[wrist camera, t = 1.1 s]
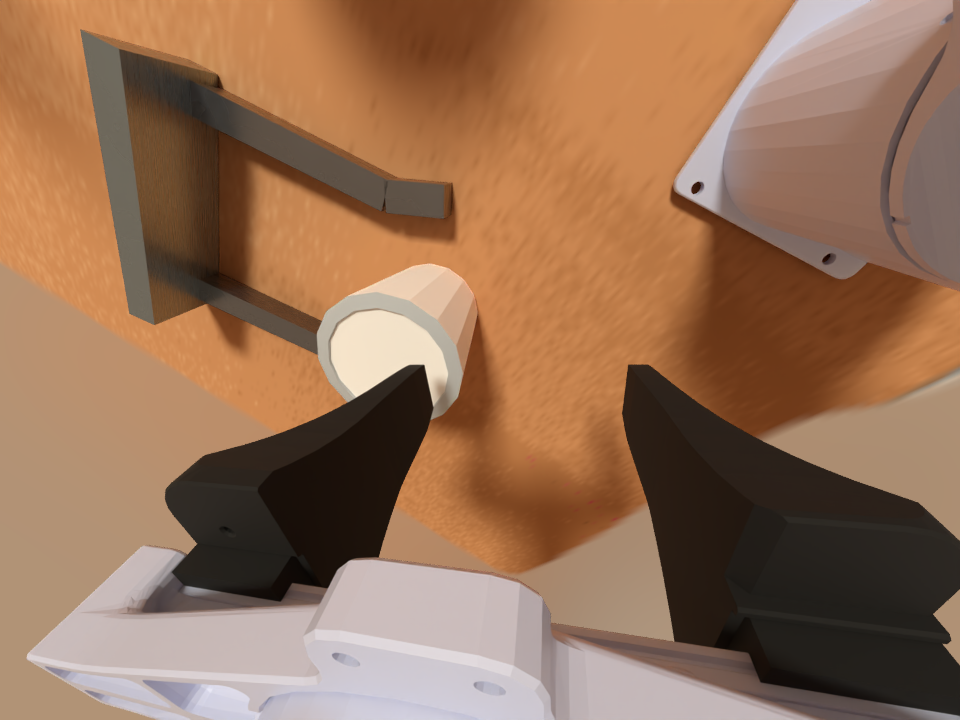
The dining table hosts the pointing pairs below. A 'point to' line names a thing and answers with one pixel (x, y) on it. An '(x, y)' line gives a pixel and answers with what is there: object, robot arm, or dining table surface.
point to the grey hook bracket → (206, 182)
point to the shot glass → (401, 333)
